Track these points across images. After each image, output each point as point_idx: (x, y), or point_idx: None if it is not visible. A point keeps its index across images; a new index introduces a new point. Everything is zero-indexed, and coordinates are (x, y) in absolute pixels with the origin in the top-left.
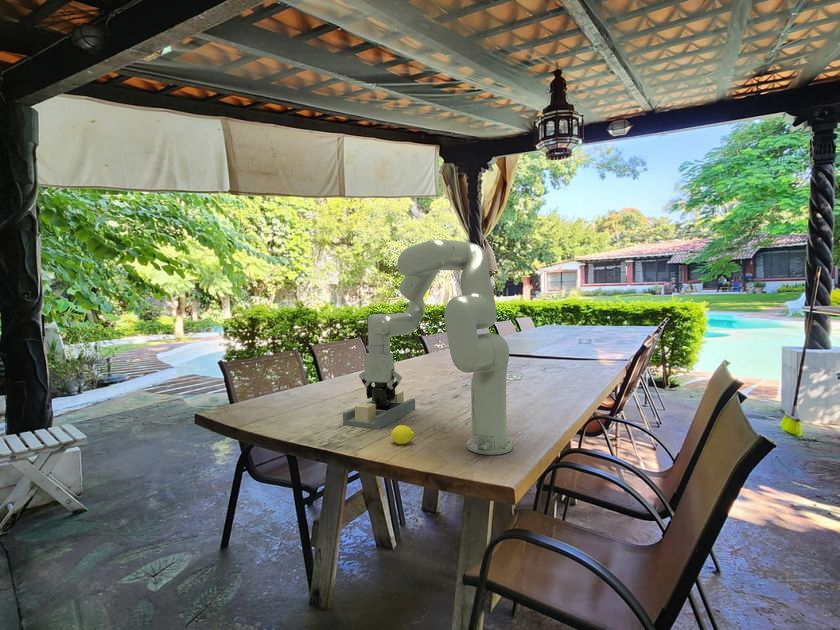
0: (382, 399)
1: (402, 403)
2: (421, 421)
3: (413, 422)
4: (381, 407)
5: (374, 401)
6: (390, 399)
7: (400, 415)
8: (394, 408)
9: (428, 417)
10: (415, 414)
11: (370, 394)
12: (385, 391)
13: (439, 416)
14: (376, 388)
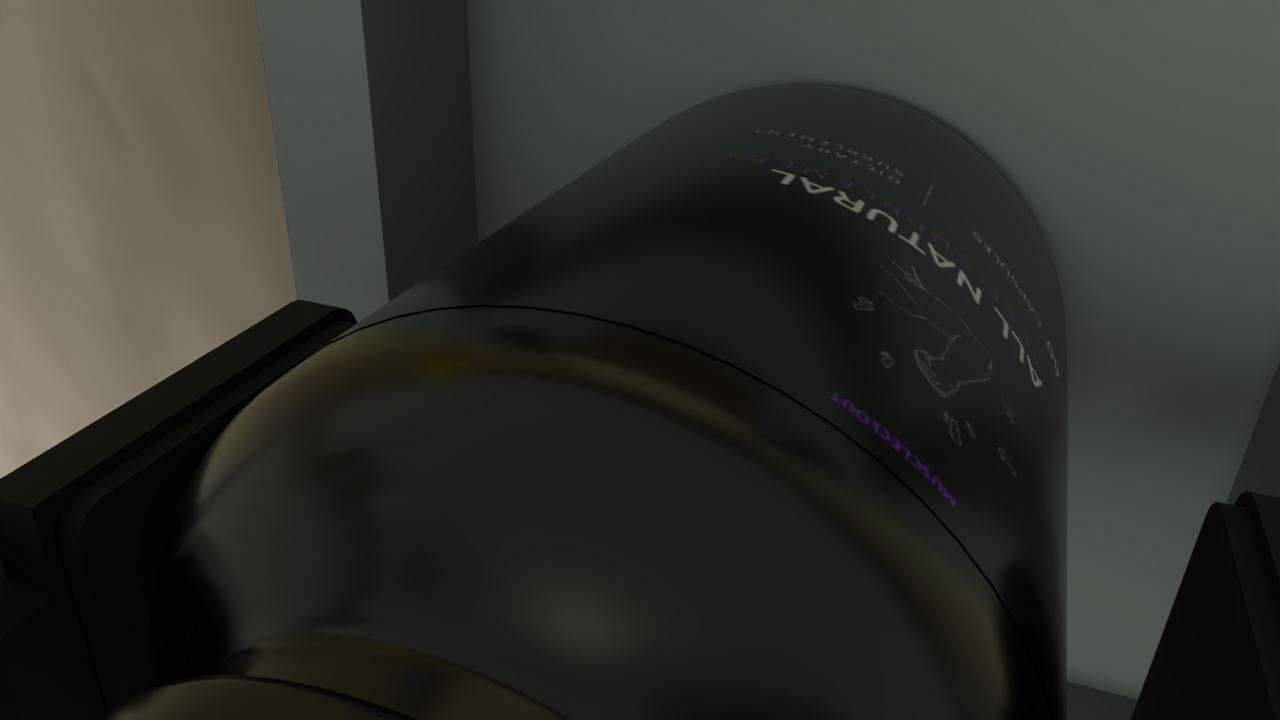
0: (487, 239)
1: None
2: (59, 149)
3: (117, 56)
4: (633, 143)
5: (835, 200)
6: (291, 323)
7: None
8: (310, 174)
9: (108, 377)
10: None
11: (1191, 691)
12: (216, 441)
13: (32, 443)
14: (537, 524)
